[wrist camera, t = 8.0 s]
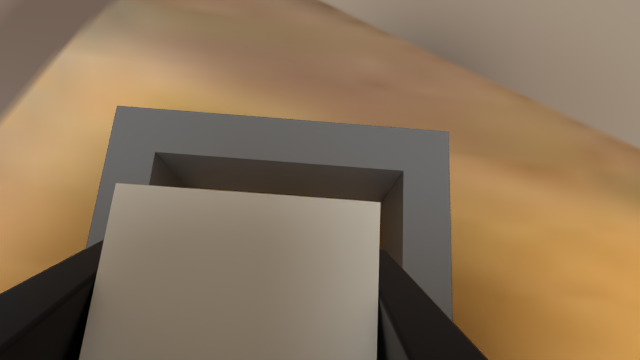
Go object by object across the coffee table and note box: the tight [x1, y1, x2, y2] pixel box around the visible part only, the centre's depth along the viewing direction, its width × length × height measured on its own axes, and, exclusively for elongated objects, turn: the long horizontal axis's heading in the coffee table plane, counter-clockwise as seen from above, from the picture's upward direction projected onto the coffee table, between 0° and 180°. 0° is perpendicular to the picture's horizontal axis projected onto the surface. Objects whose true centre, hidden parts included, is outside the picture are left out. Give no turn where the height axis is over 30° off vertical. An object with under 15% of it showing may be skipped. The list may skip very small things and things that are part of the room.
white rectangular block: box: [79, 183, 380, 360], centre depth 11 cm, size 4×4×8 cm
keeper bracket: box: [86, 106, 453, 321], centre depth 15 cm, size 10×11×4 cm
